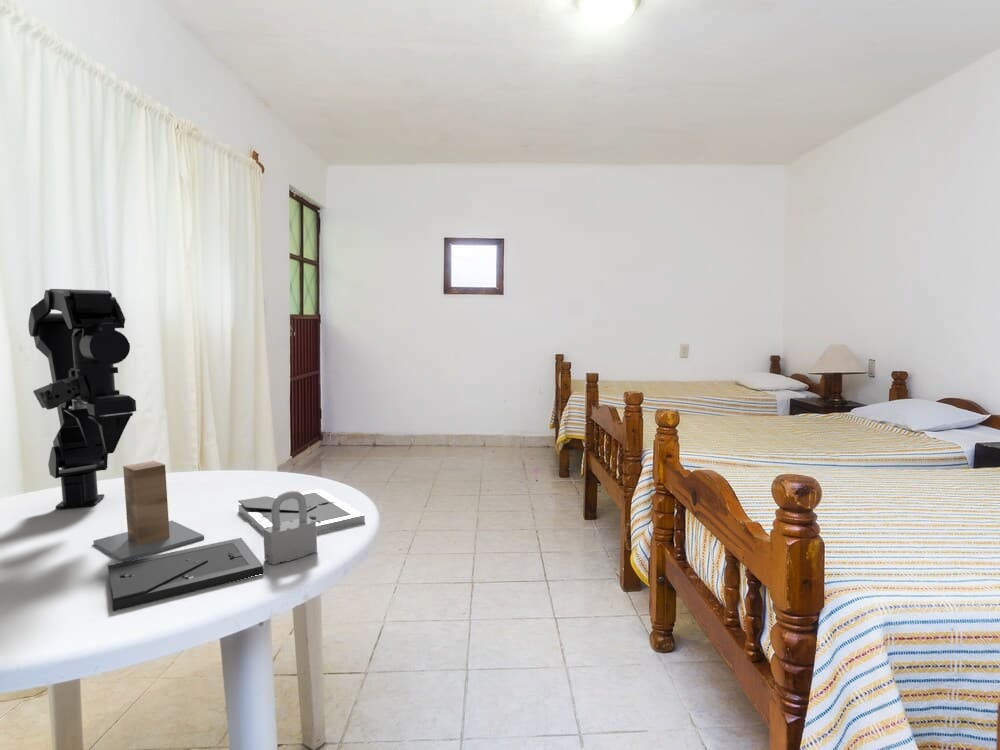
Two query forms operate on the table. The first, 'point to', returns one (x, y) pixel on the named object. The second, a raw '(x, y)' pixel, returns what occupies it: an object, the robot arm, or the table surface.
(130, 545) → the coaster
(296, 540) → the padlock
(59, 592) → the table surface
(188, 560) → the picture frame
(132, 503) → the block
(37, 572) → the table surface
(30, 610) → the table surface
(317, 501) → the picture frame
